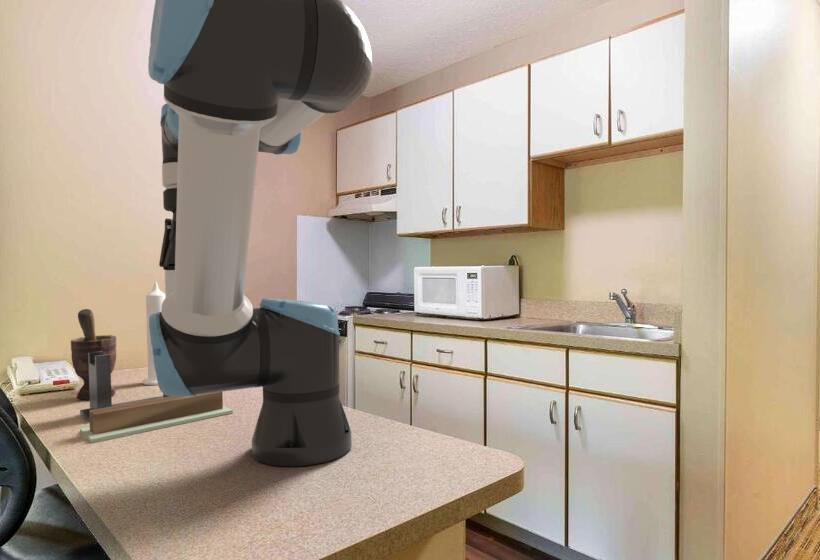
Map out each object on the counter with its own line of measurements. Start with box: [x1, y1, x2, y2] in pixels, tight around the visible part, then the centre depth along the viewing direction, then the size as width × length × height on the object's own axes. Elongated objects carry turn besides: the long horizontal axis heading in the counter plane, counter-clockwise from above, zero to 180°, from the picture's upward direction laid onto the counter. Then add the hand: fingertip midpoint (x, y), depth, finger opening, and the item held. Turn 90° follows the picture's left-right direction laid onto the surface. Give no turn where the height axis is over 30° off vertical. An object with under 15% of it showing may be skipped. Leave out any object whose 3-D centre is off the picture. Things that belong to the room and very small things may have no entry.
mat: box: [79, 405, 234, 444], centre depth 97 cm, size 8×24×1 cm, turn 133°
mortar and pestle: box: [70, 308, 117, 401], centre depth 115 cm, size 12×9×20 cm
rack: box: [79, 351, 170, 423], centre depth 106 cm, size 8×19×12 cm, turn 133°
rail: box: [89, 392, 224, 434], centre depth 97 cm, size 3×22×3 cm, turn 133°
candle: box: [142, 281, 166, 386], centre depth 130 cm, size 7×7×25 cm
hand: (188, 304), depth 98 cm, fingers open, 13 cm apart
